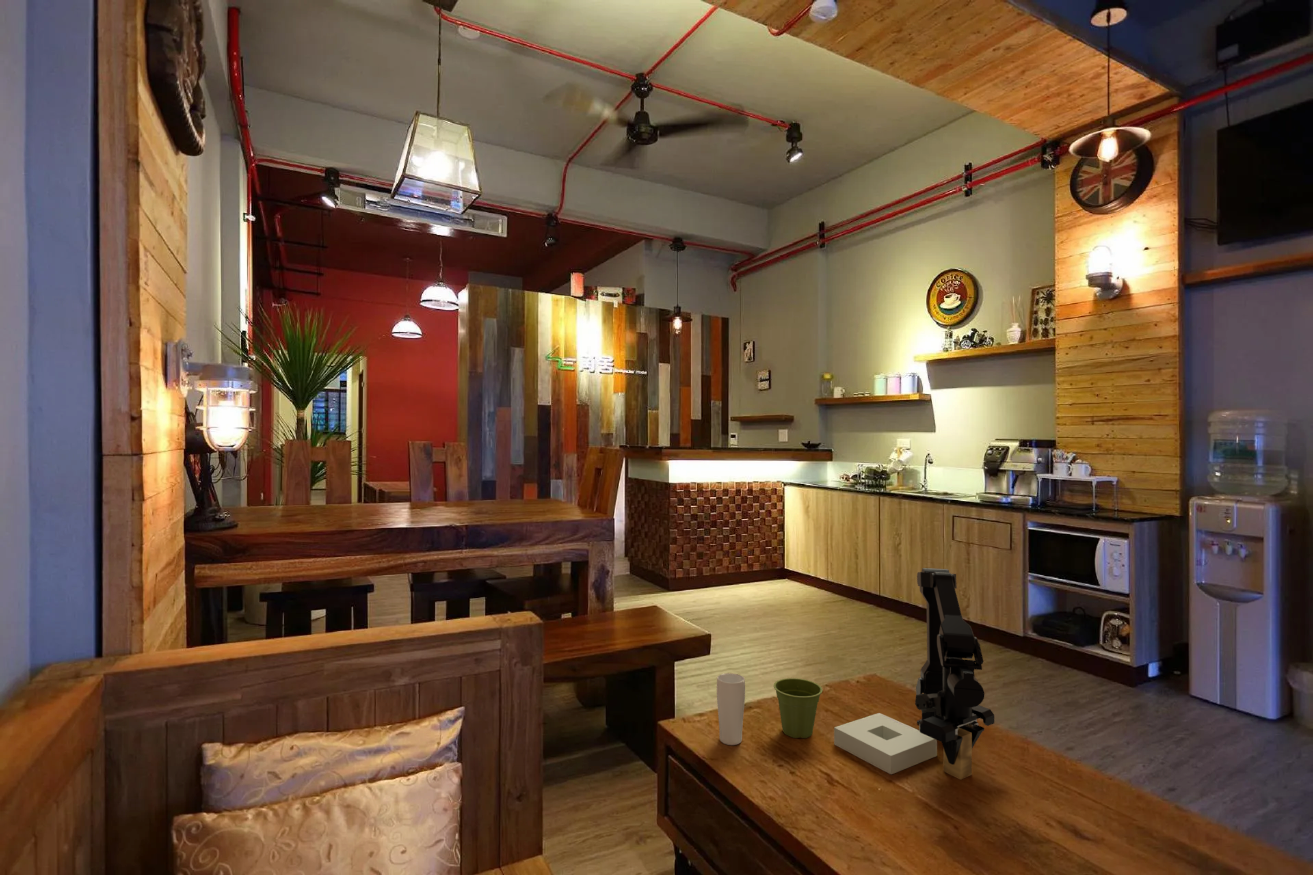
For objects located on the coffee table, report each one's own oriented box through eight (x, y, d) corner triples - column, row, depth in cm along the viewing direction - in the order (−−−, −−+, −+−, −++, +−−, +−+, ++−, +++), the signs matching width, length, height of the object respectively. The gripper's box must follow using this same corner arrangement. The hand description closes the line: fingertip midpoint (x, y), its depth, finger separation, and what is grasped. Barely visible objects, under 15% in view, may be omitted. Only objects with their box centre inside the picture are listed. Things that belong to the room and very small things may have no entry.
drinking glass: (744, 735, 153) (744, 673, 154) (745, 748, 147) (745, 683, 147) (716, 733, 154) (716, 672, 154) (716, 746, 147) (716, 682, 148)
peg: (954, 766, 139) (954, 725, 139) (971, 774, 135) (971, 732, 136) (943, 771, 137) (943, 729, 137) (960, 779, 133) (960, 736, 133)
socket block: (879, 728, 157) (879, 712, 157) (936, 755, 144) (936, 738, 144) (834, 744, 149) (834, 727, 149) (890, 774, 135) (890, 755, 135)
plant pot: (768, 738, 152) (768, 691, 152) (778, 718, 163) (778, 675, 163) (818, 747, 147) (818, 699, 147) (825, 727, 158) (825, 682, 158)
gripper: (949, 669, 148) (949, 736, 148) (897, 684, 138) (897, 756, 138) (995, 684, 139) (995, 756, 138) (944, 702, 129) (944, 779, 129)
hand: (957, 761), depth 136 cm, fingers closed on peg, 4 cm apart
